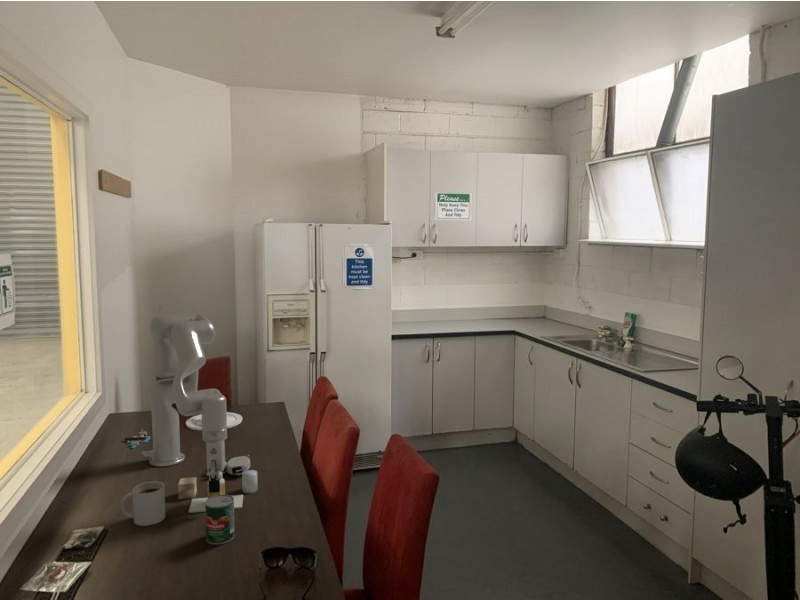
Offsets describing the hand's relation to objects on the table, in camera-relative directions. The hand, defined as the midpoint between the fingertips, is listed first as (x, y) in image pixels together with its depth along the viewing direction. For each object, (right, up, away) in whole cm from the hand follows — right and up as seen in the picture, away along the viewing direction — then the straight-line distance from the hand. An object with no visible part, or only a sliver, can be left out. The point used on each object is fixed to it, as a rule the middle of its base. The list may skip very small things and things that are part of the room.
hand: (215, 485), depth 188 cm
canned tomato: (+8, -9, -20) cm, 23 cm away
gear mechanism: (-51, 0, +59) cm, 78 cm away
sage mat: (0, -6, +1) cm, 6 cm away
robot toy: (-3, -4, +26) cm, 26 cm away
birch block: (-12, -6, +7) cm, 15 cm away
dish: (-27, +2, +84) cm, 88 cm away
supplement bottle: (0, -6, +1) cm, 6 cm away
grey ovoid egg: (+8, -5, +11) cm, 15 cm away
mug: (-18, -7, -9) cm, 22 cm away
